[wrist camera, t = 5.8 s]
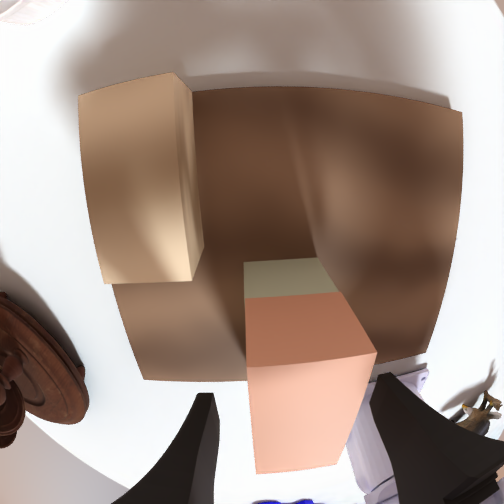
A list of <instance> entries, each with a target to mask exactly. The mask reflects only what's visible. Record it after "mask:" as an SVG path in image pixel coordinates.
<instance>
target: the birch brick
mask: <svg viewBox="0 0 504 504" xmlns="http://www.w3.org/2000/svg"><path fill="white" fill-rule="evenodd" d="M78 113H79V137H80V151H81V162H82V171H83V180H84V187H85V195H86V201H87V207H88V213H89V219H90V224H91V230H92V235H93V239H94V244H95V249H96V253H97V257H98V261H99V266H100V270H101V273H102V277H103V281H104V284H124V283H155V282H180V281H192V280H193V277H194V274H195V271H196V268H197V265H198V263H199V260H200V257H201V254H202V252H203V249H204V240H203V230H202V221H201V211H200V200H199V189H198V178H197V165H196V152H195V137H194V120H193V101H192V91H191V90H190V89H189V88H188V87H187V86H186V85H185V84H184V83H183V82H182V81H181V80H180V79H179V78H178V76H177V75H176V74H175V73H174V72H170V73H164V74H159V75H154V76H149V77H144V78H139V79H135V80H131V81H127V82H123V83H119V84H115V85H111V86H108V87H104V88H101V89H97V90H94V91H91V92H88V93H85V94H82V95H79V96H78Z"/></svg>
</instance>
